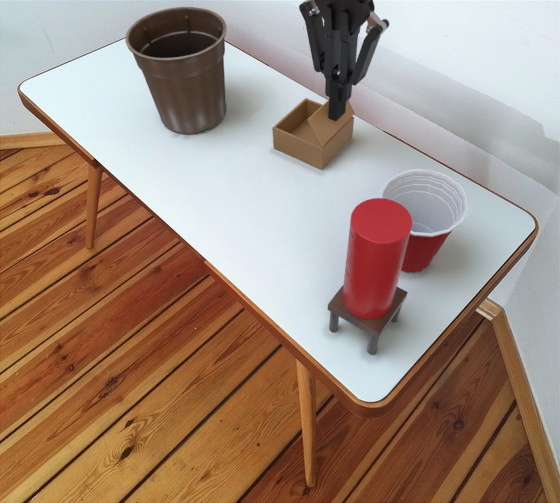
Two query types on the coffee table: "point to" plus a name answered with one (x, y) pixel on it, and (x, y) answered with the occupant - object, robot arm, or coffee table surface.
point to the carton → (308, 136)
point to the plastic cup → (426, 211)
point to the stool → (367, 325)
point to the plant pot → (182, 65)
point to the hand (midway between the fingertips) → (336, 115)
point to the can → (375, 256)
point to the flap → (328, 122)
